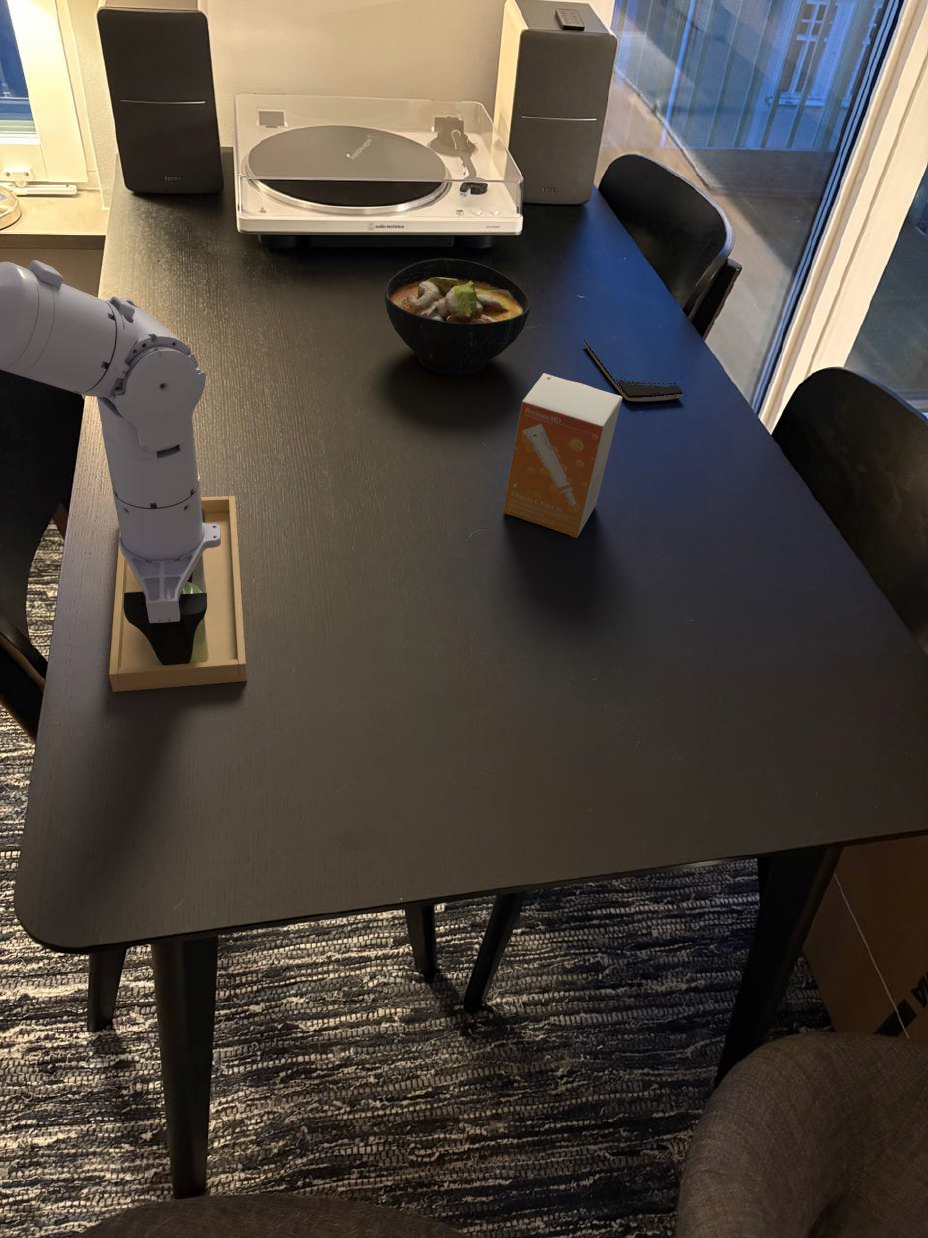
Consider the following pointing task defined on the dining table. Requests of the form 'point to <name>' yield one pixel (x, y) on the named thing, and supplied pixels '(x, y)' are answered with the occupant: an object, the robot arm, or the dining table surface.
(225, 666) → the tray
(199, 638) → the sage bottle
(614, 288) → the dining table surface
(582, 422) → the small box
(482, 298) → the bowl
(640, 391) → the laptop
